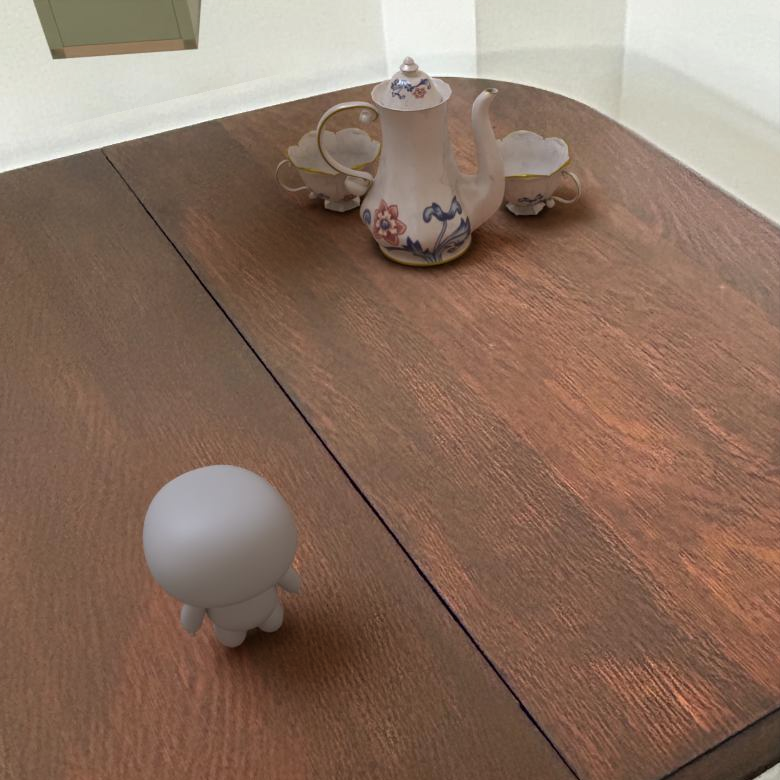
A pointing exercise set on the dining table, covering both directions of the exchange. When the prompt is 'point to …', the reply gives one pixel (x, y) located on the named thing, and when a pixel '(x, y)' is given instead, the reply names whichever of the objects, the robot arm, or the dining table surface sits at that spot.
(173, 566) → the figurine
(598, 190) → the dining table surface
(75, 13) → the shelf
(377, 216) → the chinaware
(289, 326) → the dining table surface
